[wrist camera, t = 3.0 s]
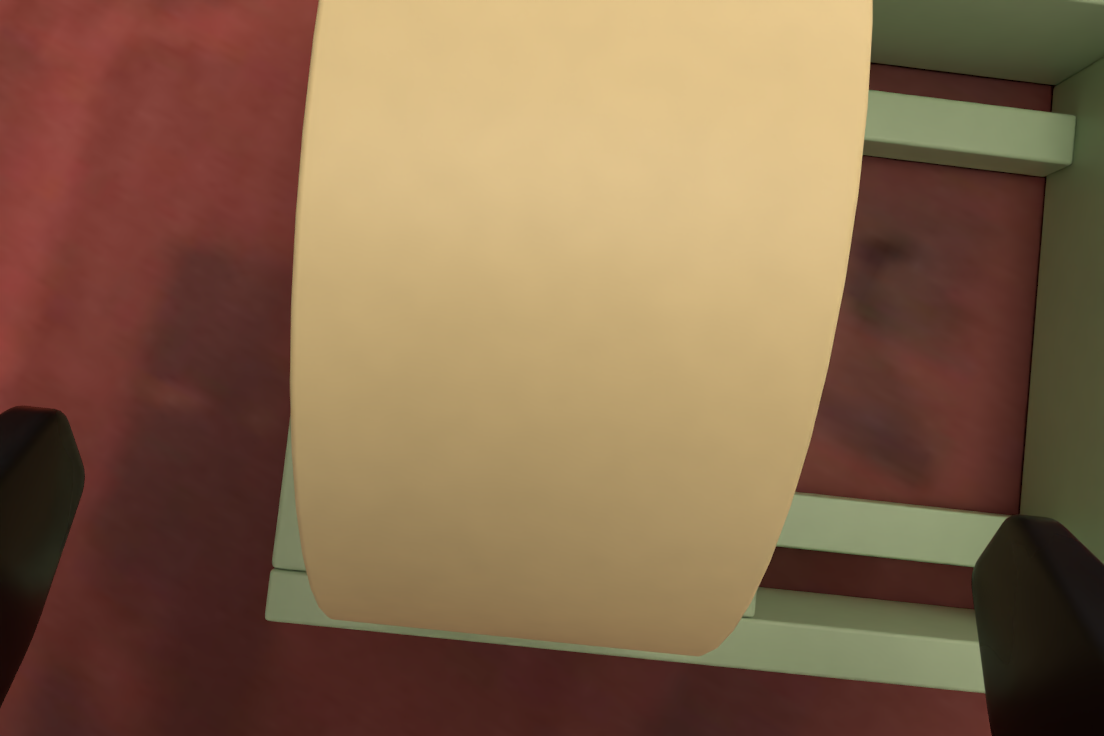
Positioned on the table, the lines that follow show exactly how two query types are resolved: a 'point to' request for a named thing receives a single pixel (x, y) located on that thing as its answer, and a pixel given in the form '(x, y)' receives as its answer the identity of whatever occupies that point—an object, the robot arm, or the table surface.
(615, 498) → the masking tape roll
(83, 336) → the table surface
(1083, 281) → the green divided tray
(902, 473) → the table surface
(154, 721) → the table surface
